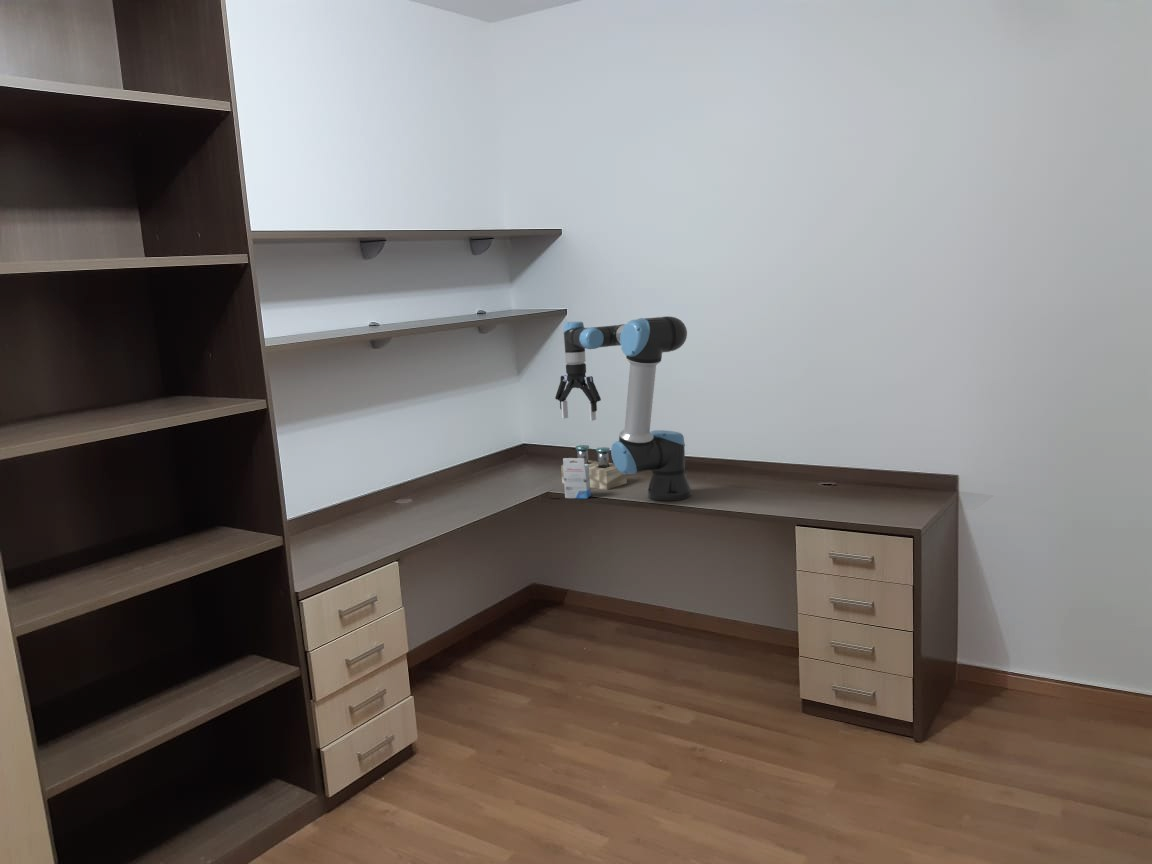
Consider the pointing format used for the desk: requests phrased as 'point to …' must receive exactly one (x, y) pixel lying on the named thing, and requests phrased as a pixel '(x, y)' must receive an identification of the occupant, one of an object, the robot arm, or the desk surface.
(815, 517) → the desk surface
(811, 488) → the desk surface
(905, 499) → the desk surface
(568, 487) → the ink box
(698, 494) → the desk surface
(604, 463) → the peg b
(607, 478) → the socket block
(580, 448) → the teal lidded jar
